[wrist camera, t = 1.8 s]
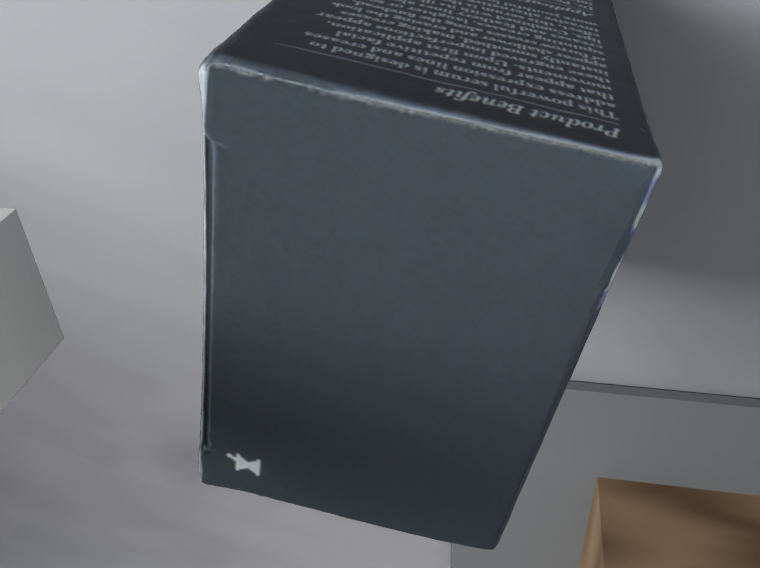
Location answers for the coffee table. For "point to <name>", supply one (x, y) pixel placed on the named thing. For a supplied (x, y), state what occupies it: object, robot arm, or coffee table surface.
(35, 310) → the robot arm
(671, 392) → the felt mat
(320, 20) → the box
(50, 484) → the coffee table surface
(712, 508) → the tower bottom
